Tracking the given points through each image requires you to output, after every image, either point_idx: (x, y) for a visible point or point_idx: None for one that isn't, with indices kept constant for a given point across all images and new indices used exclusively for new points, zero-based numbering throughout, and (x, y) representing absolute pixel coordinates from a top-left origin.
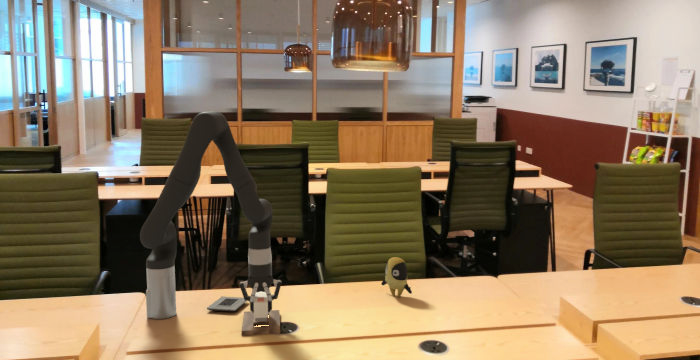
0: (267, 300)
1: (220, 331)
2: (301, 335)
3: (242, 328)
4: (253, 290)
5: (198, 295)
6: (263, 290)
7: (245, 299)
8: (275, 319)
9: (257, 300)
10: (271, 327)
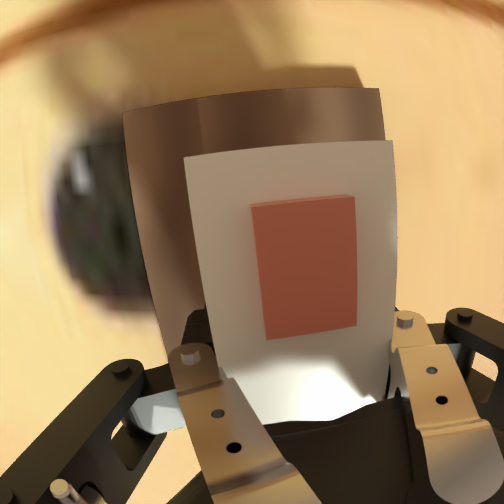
0: (200, 250)
1: (469, 174)
2: (26, 106)
3: (380, 128)
4: (454, 384)
5: None
6: (288, 436)
7: (464, 312)
8: (178, 292)
9: (351, 247)
10: (183, 135)
